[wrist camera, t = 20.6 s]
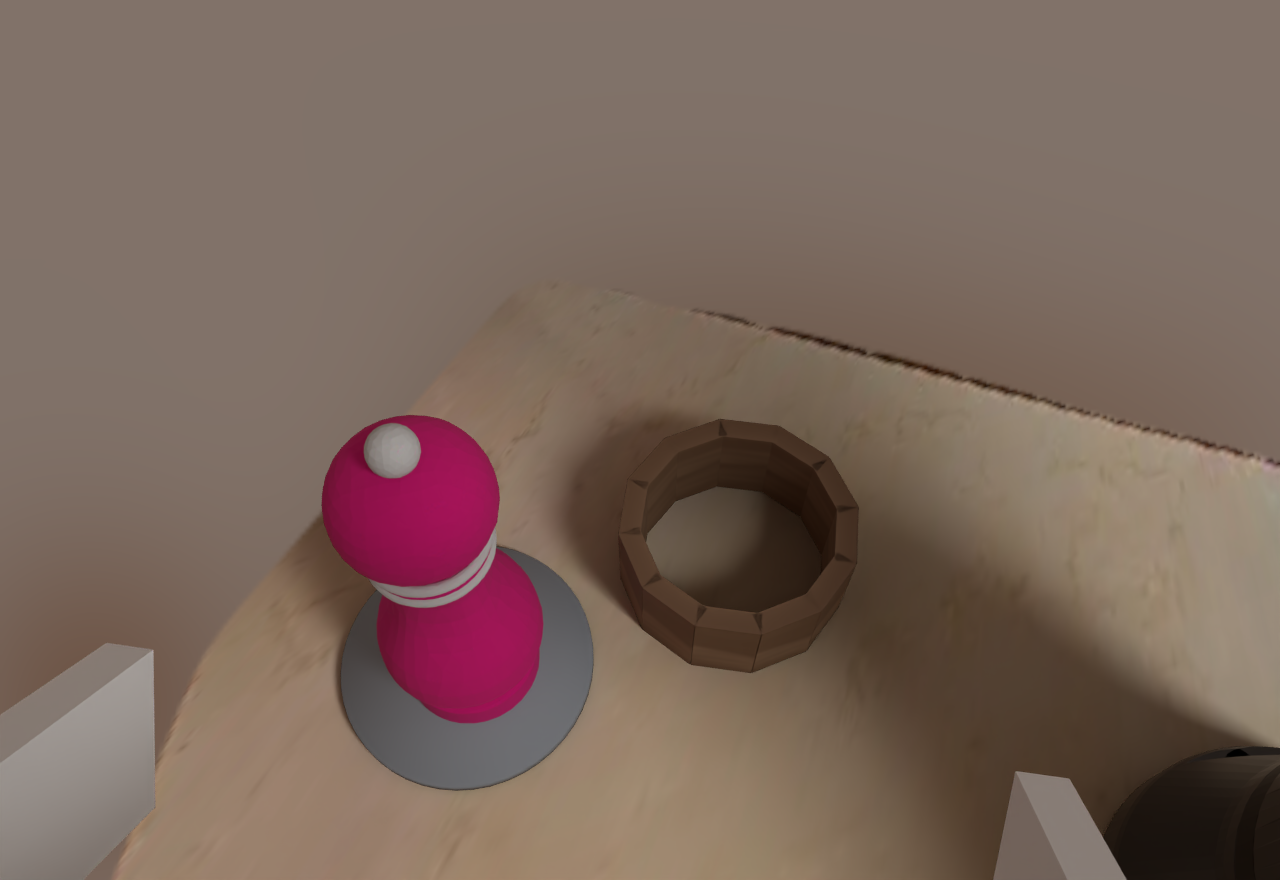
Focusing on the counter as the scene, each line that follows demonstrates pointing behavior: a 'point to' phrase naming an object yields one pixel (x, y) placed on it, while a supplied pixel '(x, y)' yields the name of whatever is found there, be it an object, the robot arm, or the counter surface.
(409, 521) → the pepper mill
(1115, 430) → the counter surface
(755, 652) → the brown wooden bowl
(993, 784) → the counter surface
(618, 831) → the counter surface
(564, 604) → the coaster
